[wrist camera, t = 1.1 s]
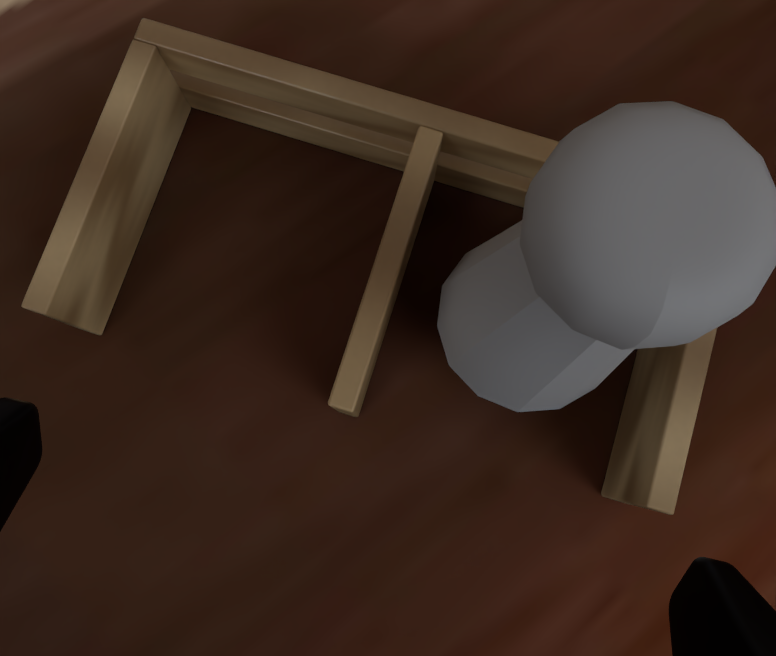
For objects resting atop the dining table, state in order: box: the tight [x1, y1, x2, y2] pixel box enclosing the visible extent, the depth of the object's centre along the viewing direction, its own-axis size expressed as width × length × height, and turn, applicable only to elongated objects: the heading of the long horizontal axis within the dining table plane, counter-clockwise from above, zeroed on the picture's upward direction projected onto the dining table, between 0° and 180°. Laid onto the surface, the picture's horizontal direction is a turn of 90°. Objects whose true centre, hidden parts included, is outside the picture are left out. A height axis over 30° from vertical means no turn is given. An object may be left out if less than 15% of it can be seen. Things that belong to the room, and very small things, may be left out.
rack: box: [21, 18, 717, 515], centre depth 22 cm, size 10×20×4 cm, turn 72°
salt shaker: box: [437, 101, 776, 412], centre depth 17 cm, size 6×6×13 cm
